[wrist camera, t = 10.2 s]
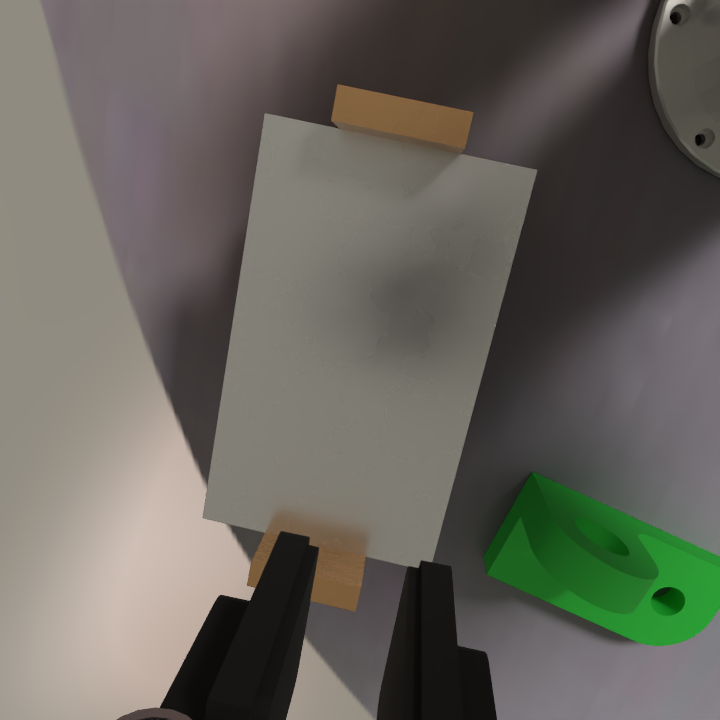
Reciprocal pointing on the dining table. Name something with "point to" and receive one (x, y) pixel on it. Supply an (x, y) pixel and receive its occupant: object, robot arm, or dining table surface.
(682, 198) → the dining table surface
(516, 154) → the dining table surface
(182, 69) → the dining table surface
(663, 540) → the mechanical part
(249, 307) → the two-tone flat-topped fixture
